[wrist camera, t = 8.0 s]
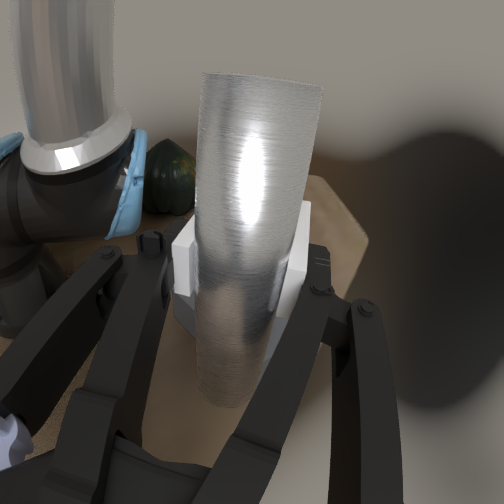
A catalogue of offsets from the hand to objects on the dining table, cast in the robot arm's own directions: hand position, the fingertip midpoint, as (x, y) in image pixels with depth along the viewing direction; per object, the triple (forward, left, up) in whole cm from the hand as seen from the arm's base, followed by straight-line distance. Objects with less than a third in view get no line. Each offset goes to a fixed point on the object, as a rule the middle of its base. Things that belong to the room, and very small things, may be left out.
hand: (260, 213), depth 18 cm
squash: (-40, +16, -21) cm, 48 cm away
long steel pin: (+3, -4, -10) cm, 11 cm away
